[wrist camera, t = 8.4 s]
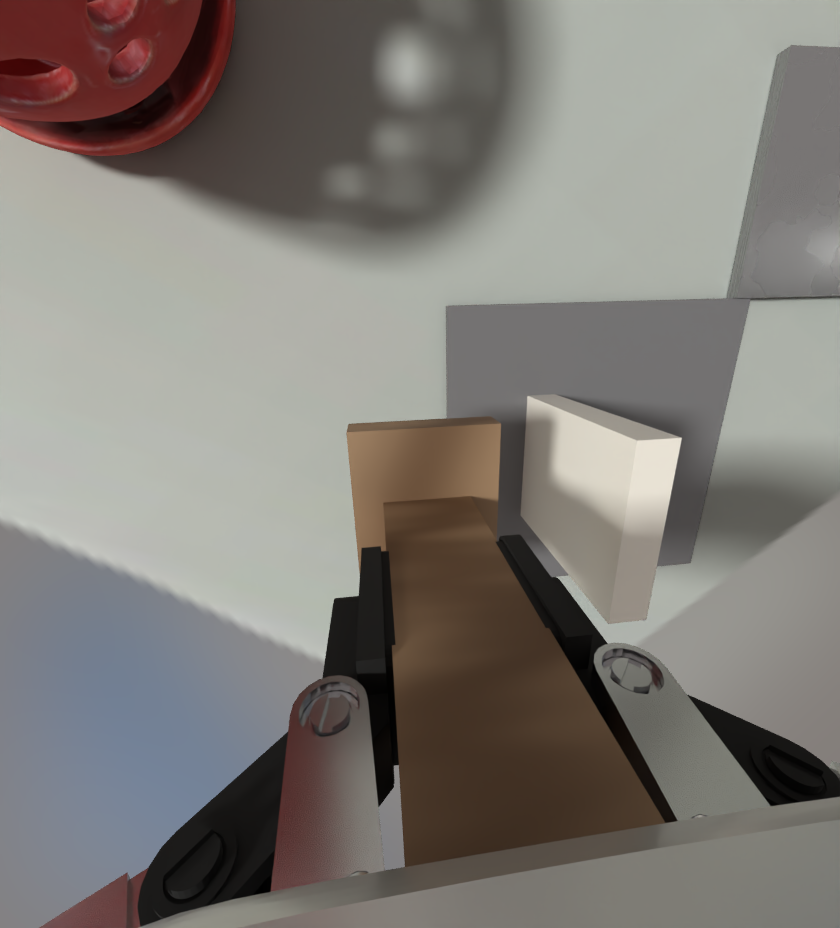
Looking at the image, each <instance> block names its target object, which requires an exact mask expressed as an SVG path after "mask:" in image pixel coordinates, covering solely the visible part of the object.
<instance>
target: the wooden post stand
mask: <svg viewBox="0 0 840 928" xmlns="http://www.w3.org/2000/svg"><path fill="white" fill-rule="evenodd" d="M500 439H501V423H500V422H498V421H497V420H495V419H494V418H492V417H491V416H485V417H467V418H449V419H430V420H412V421H393V422H375V423H357V424H349V425H348V429H347V443H348V453H349V464H350V475H351V485H352V496H353V507H354V517H355V528H356V539H357V549H358V560H359V571H360V567H361V549H362V548H366V547H377V546H381V551H389V561H390V575H391V589H392V602H393V616H394V630H395V644H396V645H392V657H393V674H394V691H395V707H396V724H397V741H398V758H399V774H400V790H401V808H402V824H403V841H404V857H405V867H409V866H415V865H420V864H426V863H432V862H438V861H443V860H449V859H455V858H461V857H466V856H472V855H478V854H484V853H489V852H495V851H501V850H507V849H513V848H519V847H525V846H531V845H537V844H543V843H549V842H555V841H561V840H567V839H573V838H579V837H585V836H591V835H597V834H603V833H609V832H615V831H621V830H627V829H633V828H639V827H645V826H651V825H657V824H664V823H665V821H664V820H663V818H662V816H661V815H660V813H659V811H658V810H657V808H656V806H655V805H654V803H653V801H652V800H651V798H650V796H649V795H648V793H647V791H646V790H645V788H644V786H643V785H642V783H641V781H640V780H639V778H638V776H637V774H636V773H635V771H634V769H633V768H632V766H631V764H630V763H629V761H628V759H627V758H626V756H625V754H624V753H623V751H622V749H621V748H620V746H619V744H618V743H617V741H616V739H615V738H614V736H613V734H612V733H611V731H610V729H609V728H608V726H607V724H606V723H605V721H604V719H603V718H602V716H601V714H600V713H599V711H598V709H597V707H596V706H595V704H594V702H593V701H592V699H591V697H590V696H589V694H588V692H587V691H586V689H585V687H584V686H583V684H582V682H581V681H580V679H579V677H578V676H577V674H576V672H575V671H574V669H573V667H572V666H571V664H570V662H569V661H568V659H567V657H566V656H565V654H564V652H563V651H562V649H561V647H560V646H559V644H558V642H557V641H556V639H555V637H554V635H553V634H552V632H551V630H550V629H549V628H545V626H544V624H543V622H542V621H541V619H540V617H539V616H538V614H537V612H536V610H535V609H534V607H533V605H532V604H531V602H530V600H529V598H528V597H527V595H526V593H525V592H524V590H523V588H522V587H521V585H520V583H519V581H518V580H517V578H516V576H515V575H514V573H513V571H512V569H511V568H510V566H509V564H508V563H507V561H506V559H505V557H504V556H503V554H502V552H501V551H500V549H499V547H498V546H497V544H496V542H497V519H498V492H499V465H500Z"/></svg>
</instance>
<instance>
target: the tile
mask: <svg viewBox="0 0 840 928" xmlns="http://www.w3.org/2000/svg"><path fill="white" fill-rule="evenodd" d="M681 440H682V438H681V437H678V436H675V435H672V434H669V433H667V432H664V431H661V430H658V429H655V428H652V427H649V426H646V425H643V424H640V423H637V422H634V421H631V420H629V419H626V418H623V417H620V416H617V415H614V414H611V413H608V412H605V411H602V410H599V409H596V408H593V407H591V406H588V405H585V404H582V403H579V402H576V401H573V400H570V399H567V398H564V397H561V396H558V395H555V394H551V395H531V396H528V397H527V414H526V431H525V448H524V464H523V481H522V498H521V517H522V518H523V519H524V520H525V522H526V523H527V524H528V525H529V527H530V528H531V529H532V530H533V531H534V533H535V534H536V535H537V536H538V538H539V539H540V540H541V541H542V543H543V544H544V545H545V546H546V548H547V549H548V550H549V551H550V552H551V554H552V555H553V556H554V557H555V559H556V560H557V561H558V562H559V564H560V565H561V566H562V567H563V569H564V570H565V571H566V572H567V574H568V575H569V576H570V577H571V578H572V580H573V581H574V582H575V583H576V585H577V586H578V587H579V588H580V590H581V591H582V592H583V593H584V595H585V596H586V597H587V598H588V599H589V601H590V602H591V603H592V604H593V606H594V607H595V608H596V609H597V611H598V612H599V613H600V614H601V616H602V617H603V618H604V619H605V620H606V622H607V623H608V624H612V623H621V622H630V621H639V620H646V619H647V614H648V609H649V604H650V598H651V593H652V588H653V583H654V578H655V573H656V568H657V563H658V557H659V552H660V547H661V542H662V537H663V532H664V527H665V522H666V516H667V511H668V506H669V501H670V496H671V491H672V486H673V481H674V476H675V470H676V465H677V460H678V455H679V450H680V445H681Z"/></svg>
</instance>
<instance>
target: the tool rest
mask: <svg viewBox="0 0 840 928" xmlns="http://www.w3.org/2000/svg"><path fill="white" fill-rule="evenodd" d="M820 296H840V47H818V46H797V45H791V46H790V47H788V48H787V49H785V50H784V51H782V52H781V53H779V54H778V55H777V60H776V65H775V70H774V74H773V79H772V84H771V89H770V94H769V98H768V103H767V108H766V113H765V118H764V122H763V127H762V132H761V137H760V141H759V146H758V151H757V156H756V161H755V165H754V170H753V175H752V180H751V185H750V189H749V194H748V199H747V204H746V208H745V213H744V218H743V223H742V228H741V232H740V237H739V242H738V247H737V252H736V256H735V261H734V266H733V271H732V275H731V280H730V285H729V290H728V295H727V298H782V297H820Z"/></svg>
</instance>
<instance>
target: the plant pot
mask: <svg viewBox="0 0 840 928" xmlns="http://www.w3.org/2000/svg"><path fill="white" fill-rule="evenodd" d="M235 10H236V0H0V126H2V127H4V128H6V129H7V130H9V131H11V132H13V133H15V134H17V135H19V136H21V137H24V138H26V139H29V140H31V141H34V142H36V143H39V144H42V145H45V146H48V147H51V148H55V149H58V150H63V151H67V152H72V153H77V154H84V155H94V156H111V155H125V154H130V153H135V152H140V151H143V150H146V149H149V148H152V147H155V146H157V145H159V144H161V143H163V142H165V141H167V140H169V139H170V138H172V137H174V136H175V135H176V134H178V133H179V132H181V131H182V130H183V129H184V128H185V127H186V126H188V125H189V124H190V123H191V122H192V121H193V120H194V119H195V118H196V117H197V116H198V115H199V114H200V113H201V112H202V110H203V108H204V107H205V106H206V104H207V103H208V101H209V100H210V98H211V97H212V95H213V93H214V91H215V89H216V87H217V85H218V83H219V81H220V79H221V77H222V74H223V72H224V69H225V66H226V63H227V60H228V57H229V53H230V49H231V44H232V38H233V32H234V23H235Z"/></svg>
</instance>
